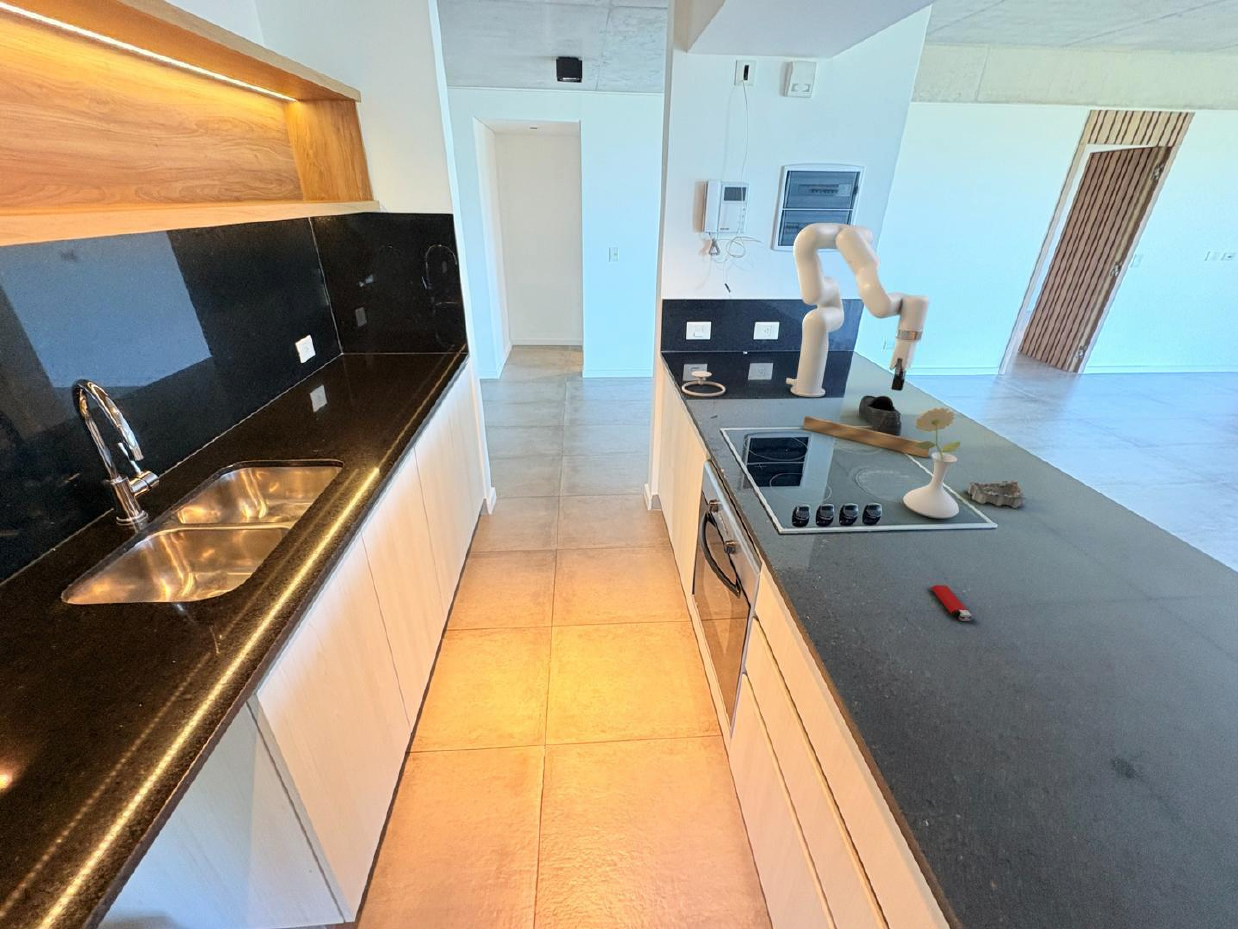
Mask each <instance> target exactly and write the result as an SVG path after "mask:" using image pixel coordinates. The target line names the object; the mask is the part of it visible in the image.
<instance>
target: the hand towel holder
mask: <svg viewBox="0 0 1238 929" xmlns="http://www.w3.org/2000/svg"><path fill="white" fill-rule="evenodd" d="M691 376H692V377H695V378H698V380H697V381H696V380H695V381H689V382H687V383H684V384H683V385H682V386H681V390H682V392H684V394H686V395H689V396H693V397H702V398H710V397H718V396H721V395H723V394H724V393H725V392H726V387H725V386H724V385H722V384H721V383H717V382H714V381H707V380H705V381H704V378H705V379H706V378H710V377H711V376H712V373H711V372H709V371H705V370H697V371H696V370H695V371H693V372H691ZM694 385H699V386H703V385H709V386H715V387H718V388H720V389H722V390H721V391H718V392H713V393H700V392H693V391H690V390H687V389H686V387H689V386H694Z"/></svg>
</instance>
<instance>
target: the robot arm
mask: <svg viewBox="0 0 1238 929" xmlns="http://www.w3.org/2000/svg"><path fill="white" fill-rule="evenodd" d="M873 242H874V235H873V232H872V230H871V229H870V228H869V227H868V226H865V225H857V224H855V225H854V224H846V223H838V222H837V223H836V222H816V223H815V222H814V223H810V224H809V225H806V226H805V227H804V228H802V229H801V230H800V231H799V233H798V234H797V235H796V238H795V239H794V243H793V247H792V252H793V258H794V259H793V260H794V262H795V263H794V264H795V267H796V273H797V279H798V285H799V290H800V295H801V299H802V302H803V303H804V304H805V305H808V306H816V307H817V308H814V309H812V310H810V311H808V312H807V313H806V314H805V316H804V318H803V319H802V324H801V330H802V332H801V336H802V337H801V346H800V354H799V355H800V356H799V361H798V367H797V374H796V378H795V379H794V378H791V377H786V380H785V383H786V385H788V386H789V385H791V387H790V392H791V393H792V394H794V395H795V396H799V397H805V398H820V397H824V396H825V395H826V390H825V389H824V388H822V387H823V381H824V376H825V371H826V365H827V359H828V352H829V343H830V342H829V341H830V340H829V334H830V333H833V332H835V331H838V330H839V329H840V328H841V327H842V326H843V324H844V321H845V312H844V305H843V300H842V294H841V293H842V292H841V288H840V284H839V283H838V281H837V280H836V279H835V278H834V277H832V276H828V275H825V273H824V270H823V264H822V260H821V258H820V256H819V254H818V251H819V250H837V251H838V252H839V253H840V255H841V256H842V258H843V260H844V262H846V264H847V265H848V268H849V269H850V271H851V272H852V274H853V276H854V278H855V283H856V284H855V285H856V288H857V292H858V295H859V297H860V300H861V301H862V303H863V305H864V306H865V308H866V310H868V312H869V313H870V314H871V315H872V316H873V317H874V318H876V319H880V320H881V319H886V318H892V317H896V316H899V318H898V322H897V326H896V330H895V331H896V332H895V336H894V340H895V341H896V342H895V346H894V348H893V352H892V356H891V360H890V365H889V370H890V371H893V370H894V374H893V378H892V383H891V387H890V389H891V390H892V391H898V392H902V391H903V389H904V385H905V380H906V375H907V371H908V370H909V369H910V368H911V367H912V365H913V362H914V358H915V353H916V348H917V343H919V342H921V340H922V337H923V332H924V327H925V324H926V319H927V315H928V310H929V306H930V302H931V301H930V300H931V299H930V297H929V296H926V295H922V294H921V295H920V294H906V293H903V292H899V291H893V292H887V291H886V289H885V288H884V286H883V284H882V283H881V280H880V277H879V269H880V266H881V259H880V257H879V256H878V255H877V253H876V252H875V250H874V249H873V247H872V245H873Z"/></svg>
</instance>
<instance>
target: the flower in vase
mask: <svg viewBox="0 0 1238 929" xmlns="http://www.w3.org/2000/svg"><path fill="white" fill-rule="evenodd" d="M949 410H950V408H949V407H940V408H938V407H933V408H932V410H931V409H929V410H927V411H925V412H924V413H921V414H919V417H917V418H916V419H915V420H914V421H915V422H914V424H915V429H918V430H919V431H923V432H929V433H931V432H933V431H934V432H935V442H932V441H930V440H929V441H927V440H926V441H921V443H919V444H917V445H916V446H914V447H918V448H922V449H929V450H931V449H933V448H935V447H936V448H937V451H938V452H932V453H931V457H932V460H933V464H934V469H933V474H932V477H931V481H930V482H929V483H928V484H927V485H925V486H922V487H921V486H920V487H918V488H915V489H912V490H910V491H908V492H906V494H905V495H904V496H903V497H902V498H903V499H902V500H903V502H904V504H905V506H906V507H907V508H908V509H909V510H911V511H912V512H913V513H914V512H915V513H916V514H918V515H921V516H924V517H928V518H934V519H950V518H953V517H955V516H956V515H958V513H959V512H960V509H959V505H958V503H957V501H956V500H955V499H954V498H953V497H952V496H951V494H949V493H948V491H946V490H945V489H944V481H945V480H944V479H945V476H946V474H947V473H948V470H949V469H950V467H951V466H952V464H954V463H956V462H957V461H958V457H956V456H955V455H952V454H950V453H952V452H955V451H956V450H957V449H958V448H959V446H960V445H961V441H957V442H951V443H946V444H944V445H943V446H942V448H941V449H940V446H939V444H938V431H939V430H944V429H945V428H946V427H948V426H950V425H951V424H953V423H954V419H955V415H956V414H955V411H953V410H950V411H949Z"/></svg>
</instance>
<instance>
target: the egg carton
mask: <svg viewBox="0 0 1238 929" xmlns="http://www.w3.org/2000/svg"><path fill="white" fill-rule="evenodd" d="M967 493H968V495H972V496H971V499H972V500H974V501H975V502H978V503H979V504H983V505H984V504H985V503H991V504H993V505H995V506H997V507H998V506H999V507H1001V506H1002V505H1007V506H1010V507H1011V508H1013V509H1014V508H1015V509H1016V508H1019V507H1021V506H1022V504H1023V502H1024V500H1026V499H1027V498H1026V495H1024V493H1023V492H1021V487H1020V486H1019V483H1018V481H1013V480H1002V481H1001V482H997V481H993V482H986V481H979V482H977V481H972V480H969V487H968V491H967Z"/></svg>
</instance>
